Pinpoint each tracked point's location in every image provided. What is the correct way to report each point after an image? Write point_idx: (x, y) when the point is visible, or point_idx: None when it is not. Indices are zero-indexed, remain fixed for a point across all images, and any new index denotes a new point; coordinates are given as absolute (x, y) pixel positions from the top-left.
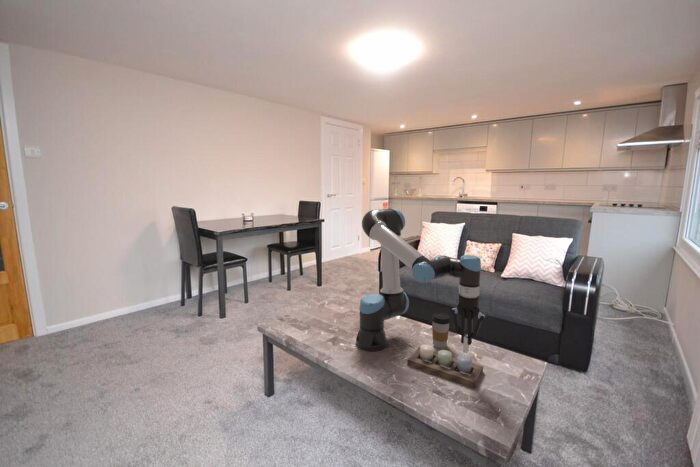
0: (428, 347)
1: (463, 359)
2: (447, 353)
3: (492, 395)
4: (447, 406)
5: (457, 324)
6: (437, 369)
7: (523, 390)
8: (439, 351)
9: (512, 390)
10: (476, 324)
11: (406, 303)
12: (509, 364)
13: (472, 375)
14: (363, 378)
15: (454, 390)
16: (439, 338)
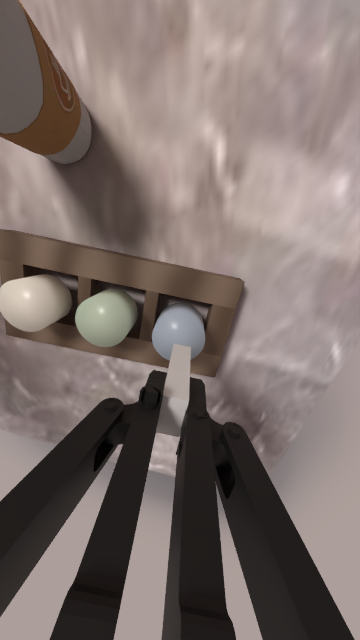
0: (28, 302)
1: (174, 340)
2: (110, 320)
3: (254, 378)
4: (158, 438)
5: (65, 512)
6: (105, 354)
7: (345, 331)
8: (78, 316)
9: (313, 342)
10: (261, 632)
11: None
12: (352, 178)
13: (207, 348)
14: None
15: None
16: (37, 149)
